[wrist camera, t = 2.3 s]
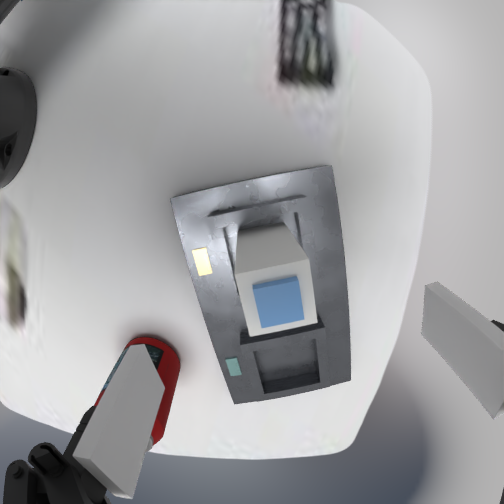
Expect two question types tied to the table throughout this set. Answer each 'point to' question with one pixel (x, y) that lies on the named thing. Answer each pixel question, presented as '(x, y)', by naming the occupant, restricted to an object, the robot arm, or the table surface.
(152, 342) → the beverage can
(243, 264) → the plug
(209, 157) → the table surface
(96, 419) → the robot arm
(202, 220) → the grey socket board
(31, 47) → the table surface
